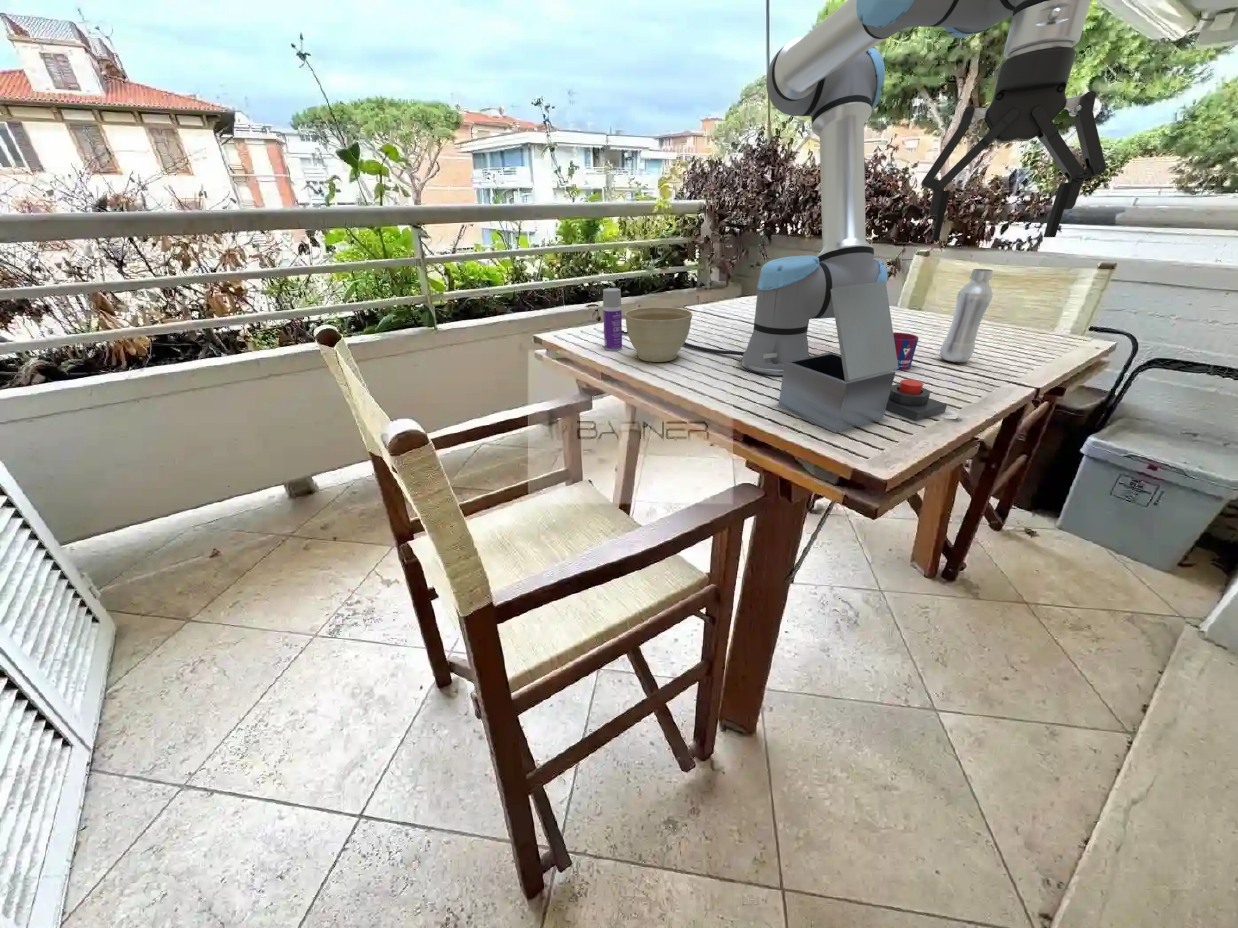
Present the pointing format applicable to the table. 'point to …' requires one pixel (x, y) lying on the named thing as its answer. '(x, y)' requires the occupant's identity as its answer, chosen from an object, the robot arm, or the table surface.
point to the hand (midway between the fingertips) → (989, 239)
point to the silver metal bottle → (967, 317)
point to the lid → (864, 329)
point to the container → (612, 319)
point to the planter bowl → (658, 331)
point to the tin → (833, 393)
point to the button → (910, 386)
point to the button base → (913, 404)
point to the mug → (905, 349)
